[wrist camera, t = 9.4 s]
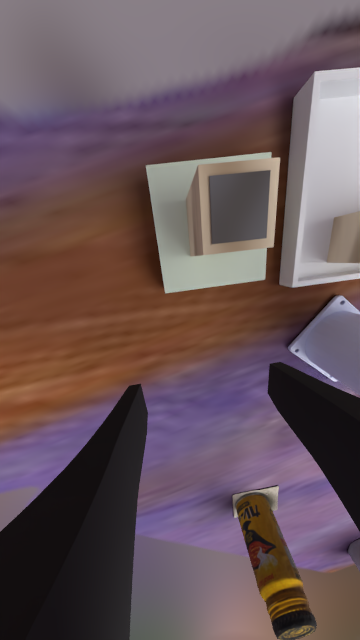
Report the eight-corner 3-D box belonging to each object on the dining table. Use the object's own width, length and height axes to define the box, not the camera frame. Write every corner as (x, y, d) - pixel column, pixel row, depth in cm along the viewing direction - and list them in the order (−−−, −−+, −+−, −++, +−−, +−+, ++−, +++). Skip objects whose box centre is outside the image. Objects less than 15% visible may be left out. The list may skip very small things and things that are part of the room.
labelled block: (238, 194, 13) (281, 156, 8) (237, 251, 14) (274, 247, 10) (185, 199, 13) (198, 163, 8) (190, 256, 14) (203, 255, 9)
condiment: (232, 494, 30) (271, 631, 19) (278, 484, 31) (343, 615, 19) (233, 516, 33) (269, 649, 22) (276, 507, 33) (333, 634, 22)
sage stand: (254, 169, 15) (271, 152, 12) (251, 276, 18) (265, 279, 15) (148, 180, 14) (145, 165, 12) (165, 288, 17) (165, 293, 15)
